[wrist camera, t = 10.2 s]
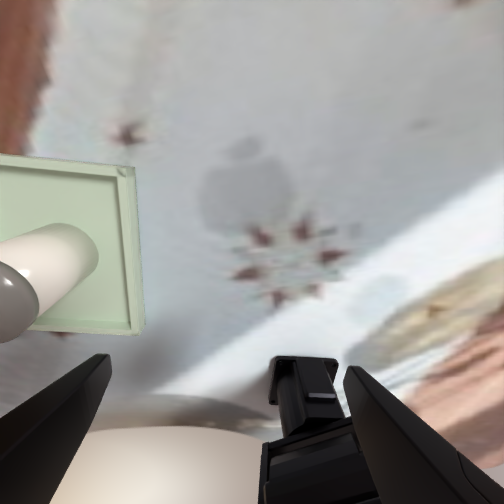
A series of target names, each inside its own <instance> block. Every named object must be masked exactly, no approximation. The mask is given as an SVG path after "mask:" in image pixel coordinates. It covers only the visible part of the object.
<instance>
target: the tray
mask: <svg viewBox="0 0 504 504" xmlns="http://www.w3.org/2000/svg"><path fill="white" fill-rule="evenodd" d="M52 223H65V224H70V225H72V226H75V227H77V228H79V229H81V230H82V231H84V232H85V233H86V234H87V235H88V236H89V237H90V238H91V239H92V240H93V242H94V243H95V245H96V247H97V250H98V253H99V262H98V265H97V268H96V269H95V271H94V272H93V273H91V274H90V275H89V276H88V277H87V278H85V279H84V280H83V281H82V282H80V283H79V284H78V285H77V286H76V287H74V288H73V289H72V290H71V291H70V292H68V293H67V294H66V295H65V296H63V297H62V298H61V299H60V300H59V301H57V302H56V303H55V304H54V305H52V306H51V307H50V308H49V309H48V310H46V311H45V312H44V313H43V314H41V315H40V316H39V317H38V318H37V319H36V320H35V322H34V323H33V324H32V325H31V326H30V327H28V328H27V329H26V330H36V331H55V332H74V333H93V334H112V335H130V336H139V335H140V333H141V332H142V330H143V328H144V327H145V312H144V297H143V282H142V268H141V253H140V238H139V223H138V209H137V194H136V179H135V167H127V166H117V165H107V164H98V163H88V162H79V161H69V160H59V159H50V158H40V157H31V156H21V155H11V154H2V153H0V242H2V241H5V240H7V239H10V238H13V237H15V236H18V235H21V234H23V233H26V232H29V231H32V230H34V229H37V228H40V227H42V226H45V225H48V224H52Z"/></svg>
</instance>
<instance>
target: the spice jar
mask: <svg viewBox="0 0 504 504" xmlns="http://www.w3.org/2000/svg"><path fill="white" fill-rule="evenodd" d="M98 262H99V253H98V250H97V247H96V245H95V243H94V242H93V240H92V239H91V238H90V237H89V236H88V235H87V234H86V233H85V232H84V231H82V230H81V229H79V228H77V227H75V226H72V225H70V224H65V223H52V224H48V225H45V226H42V227H40V228H37V229H34V230H32V231H29V232H26V233H23V234H21V235H18V236H15V237H13V238H10V239H7V240H5V241H2V242H0V343H4V342H8V341H10V340H13V339H14V338H16V337H18V336H19V335H20V334H21V333H22V332H24V331H25V330H26V329H27V328H28V327H30V326H31V325H32V324H33V323H34V322H35V320H36V319H37V318H38V317H39V316H40V315H41V314H43V313H44V312H45V311H46V310H48V309H49V308H50V307H51V306H52V305H54V304H55V303H56V302H57V301H59V300H60V299H61V298H62V297H63V296H65V295H66V294H67V293H68V292H70V291H71V290H72V289H73V288H74V287H76V286H77V285H78V284H79V283H80V282H82V281H83V280H84V279H85V278H87V277H88V276H89V275H90V274H91V273H93V272H94V271H95V269H96V268H97V265H98Z"/></svg>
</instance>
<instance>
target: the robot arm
mask: <svg viewBox="0 0 504 504" xmlns="http://www.w3.org/2000/svg"><path fill="white" fill-rule="evenodd" d="M279 361H281V362H279ZM338 366H339V364H338V362H337V360H336V359H329V358H309V357H288V356H279V357H277V358H276V359H275V364H274V370H273V375H272V381H271V387H270V392H269V398H268V399H269V404H271V405H279V412H280V419H281V425H282V432H283V438H282V439H279V440H276V441H273V442H270V443H269V442H266V443H263V444H262V455H261V465H260V480H259V494H258V504H504V488H503V487H501V486H500V485H499V484H498V483H496V482H495V481H494V480H493V479H491V478H490V477H489V476H488V475H487V474H485V473H484V472H483V471H482V470H481V469H479V468H478V467H477V466H476V465H475V464H473V463H472V462H471V461H470V460H469V459H468V458H466V457H465V456H464V455H463V454H462V453H461V452H459V451H456V448H455V447H453V446H452V445H451V444H450V443H449V442H448V441H446V440H445V439H444V438H443V437H442V436H441V435H439V434H438V433H437V432H436V431H435V430H434V429H432V428H431V427H430V426H429V425H428V424H427V423H425V422H424V421H423V420H422V419H421V418H420V417H418V416H417V415H416V414H415V413H414V412H413V411H411V410H410V409H409V408H408V407H407V406H406V405H404V404H403V403H402V402H401V401H400V400H399V399H397V398H396V397H395V396H394V395H393V394H392V393H390V392H389V391H388V390H387V389H386V388H385V387H384V386H382V385H381V384H380V383H379V382H378V381H377V380H375V379H374V378H373V377H372V376H371V375H370V374H368V373H367V372H366V371H365V370H364V369H363V368H361V367H360V366H352V365H350V366H348V368H347V371H346V374H345V377H344V380H343V387H344V391H345V395H346V398H347V402H348V406H349V410H350V413H351V416H349V417H345V415H344V412H343V410H342V407H341V405H340V402H339V400H338V397H337V394H336V391H335V389H334V386H333V382H334V379H335V376H336V373H337V369H338ZM111 375H112V366H111V359H110V355H109V354H95V355H94V356H92V357H91V358H89V359H88V360H86V361H85V362H83V363H82V364H80V365H79V366H77V367H76V368H74V369H73V370H71V371H70V372H68V373H67V374H65V375H64V376H62V377H61V378H59V379H58V380H56V381H55V382H53V383H52V384H50V385H49V386H47V387H46V388H45V389H43V390H42V391H40V392H39V393H37V394H36V395H34V396H33V397H31V398H30V399H28V400H27V401H25V402H24V403H22V404H21V405H19V406H18V407H16V408H15V409H13V410H12V411H10V412H9V413H7V414H6V415H4V416H3V417H1V418H0V504H49V503H50V501H51V499H52V497H53V495H54V494H55V492H56V490H57V488H58V486H59V484H60V482H61V480H62V479H63V477H64V475H65V473H66V471H67V469H68V467H69V465H70V463H71V461H72V460H73V458H74V456H75V454H76V452H77V450H78V448H79V446H80V445H81V443H82V441H83V439H84V437H85V435H86V433H87V431H88V429H89V427H90V425H91V423H92V421H93V419H94V417H95V414H96V412H97V410H98V407H99V405H100V402H101V400H102V398H103V395H104V393H105V390H106V388H107V386H108V383H109V381H110V378H111Z"/></svg>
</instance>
